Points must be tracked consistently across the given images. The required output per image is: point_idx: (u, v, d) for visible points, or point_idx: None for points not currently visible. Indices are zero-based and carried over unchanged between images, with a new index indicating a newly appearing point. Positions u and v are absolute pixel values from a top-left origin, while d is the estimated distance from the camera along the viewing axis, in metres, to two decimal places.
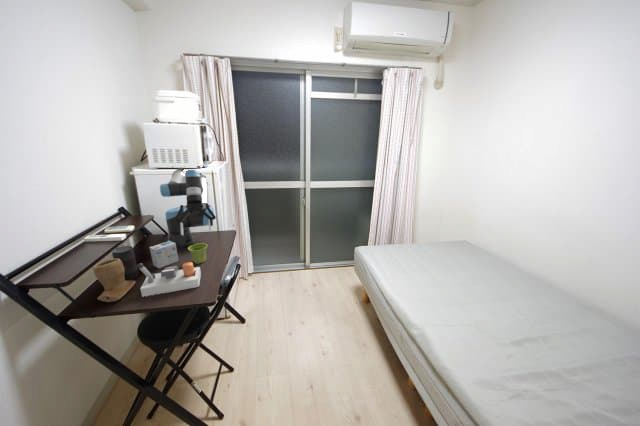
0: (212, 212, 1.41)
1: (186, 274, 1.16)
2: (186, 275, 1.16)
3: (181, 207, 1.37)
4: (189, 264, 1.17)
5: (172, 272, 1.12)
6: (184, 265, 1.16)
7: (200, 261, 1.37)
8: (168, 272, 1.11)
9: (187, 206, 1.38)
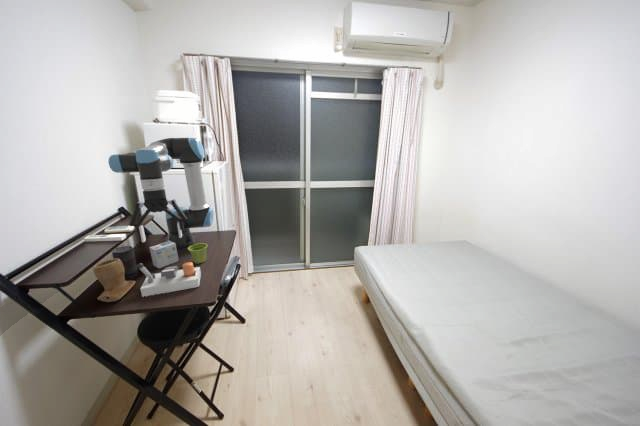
0: (181, 213, 1.07)
1: (186, 274, 1.16)
2: (186, 275, 1.16)
3: (137, 206, 1.00)
4: (189, 264, 1.17)
5: (172, 272, 1.12)
6: (184, 265, 1.16)
7: (200, 261, 1.37)
8: (168, 272, 1.11)
9: (145, 205, 1.02)
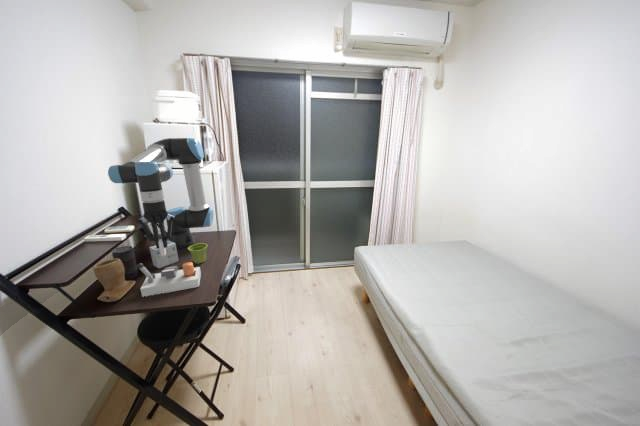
0: (170, 231, 1.06)
1: (186, 274, 1.16)
2: (186, 275, 1.16)
3: (141, 222, 1.01)
4: (189, 264, 1.17)
5: (172, 272, 1.12)
6: (184, 265, 1.16)
7: (200, 261, 1.37)
8: (168, 272, 1.11)
9: (146, 217, 1.02)
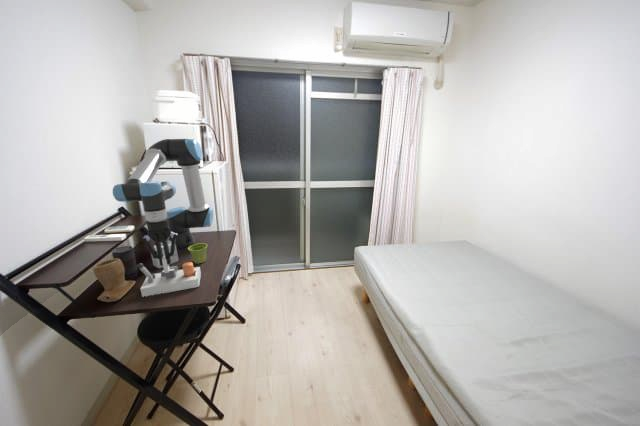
0: (173, 249, 1.08)
1: (186, 274, 1.16)
2: (186, 275, 1.16)
3: (145, 241, 1.04)
4: (189, 264, 1.17)
5: (172, 272, 1.12)
6: (184, 265, 1.16)
7: (200, 261, 1.37)
8: None
9: (150, 235, 1.04)
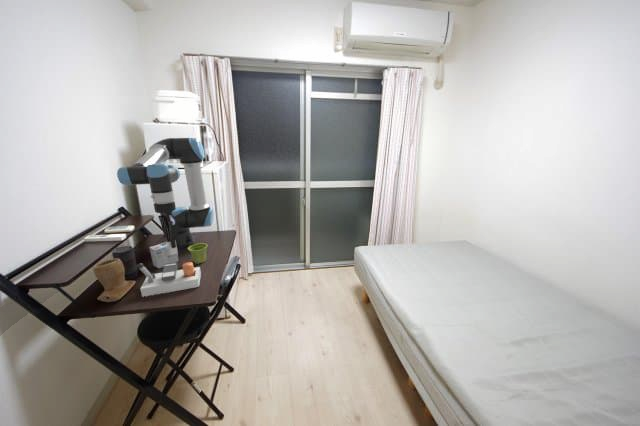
0: (171, 234, 1.05)
1: (186, 274, 1.16)
2: (186, 275, 1.16)
3: (159, 219, 1.10)
4: (189, 264, 1.17)
5: (173, 277, 1.12)
6: (184, 265, 1.16)
7: (200, 261, 1.37)
8: (169, 277, 1.12)
9: (161, 215, 1.08)
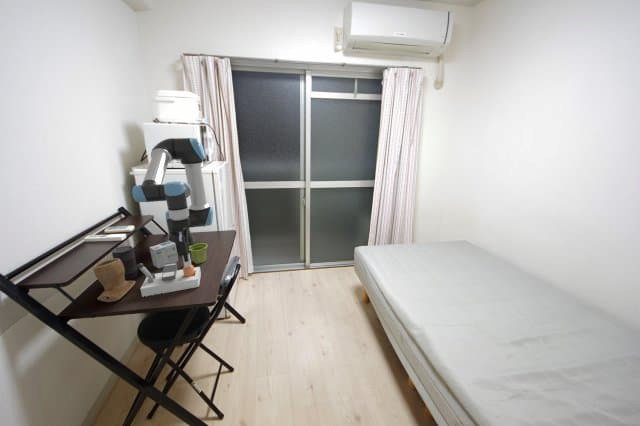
0: (180, 250, 1.10)
1: None
2: None
3: None
4: (189, 267, 1.17)
5: (173, 277, 1.12)
6: (184, 268, 1.17)
7: (200, 261, 1.37)
8: (169, 277, 1.12)
9: None
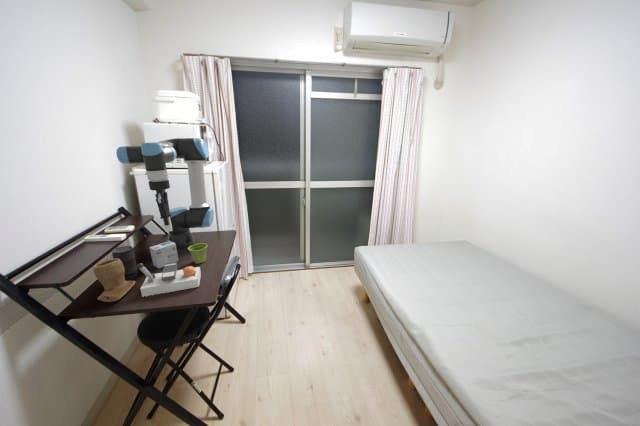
0: None
1: None
2: None
3: None
4: (190, 268, 1.18)
5: (173, 277, 1.12)
6: (185, 269, 1.17)
7: (200, 261, 1.37)
8: (169, 277, 1.12)
9: None
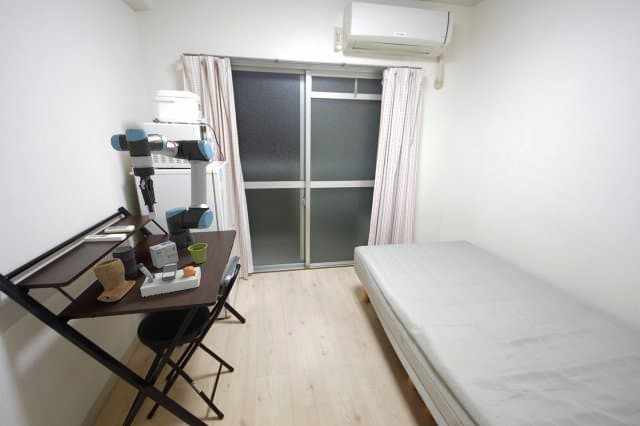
0: (143, 198, 1.10)
1: None
2: None
3: None
4: (190, 268, 1.18)
5: (173, 277, 1.12)
6: (185, 269, 1.17)
7: (200, 261, 1.37)
8: (169, 277, 1.12)
9: None
